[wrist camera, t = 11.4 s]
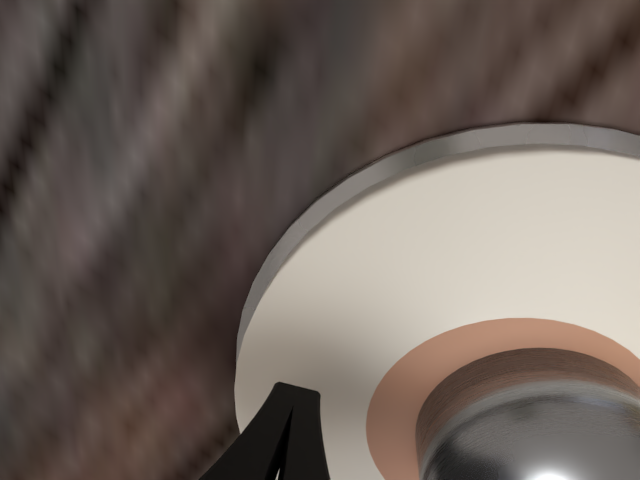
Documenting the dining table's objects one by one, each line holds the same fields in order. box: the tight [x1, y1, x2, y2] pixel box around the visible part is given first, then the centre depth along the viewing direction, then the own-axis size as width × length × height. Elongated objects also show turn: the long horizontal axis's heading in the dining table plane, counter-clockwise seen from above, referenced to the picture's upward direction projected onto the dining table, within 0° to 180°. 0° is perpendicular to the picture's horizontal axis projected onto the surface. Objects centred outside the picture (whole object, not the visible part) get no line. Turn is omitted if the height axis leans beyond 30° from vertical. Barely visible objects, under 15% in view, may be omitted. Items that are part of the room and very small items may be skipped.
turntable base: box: [236, 122, 640, 366], centre depth 15 cm, size 19×19×1 cm
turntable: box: [234, 143, 640, 480], centre depth 12 cm, size 18×18×6 cm
